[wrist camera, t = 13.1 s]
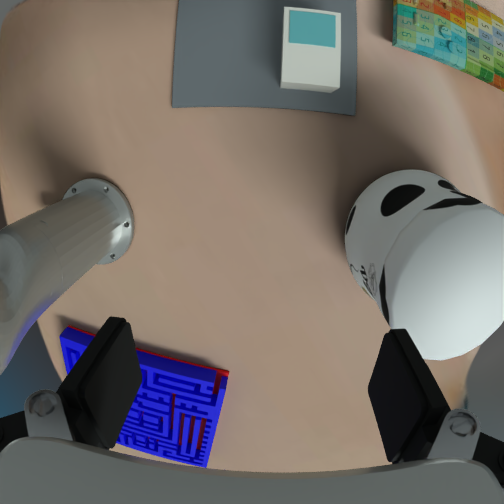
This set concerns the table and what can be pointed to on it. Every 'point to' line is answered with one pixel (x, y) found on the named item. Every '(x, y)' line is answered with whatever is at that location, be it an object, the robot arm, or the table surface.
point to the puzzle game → (452, 36)
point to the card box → (311, 50)
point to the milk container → (429, 260)
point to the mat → (252, 56)
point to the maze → (165, 403)
